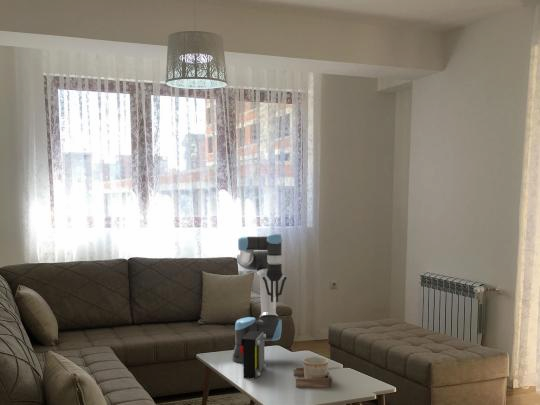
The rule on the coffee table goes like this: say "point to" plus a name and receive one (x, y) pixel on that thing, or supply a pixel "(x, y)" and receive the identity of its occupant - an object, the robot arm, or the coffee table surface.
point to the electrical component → (253, 353)
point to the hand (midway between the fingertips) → (274, 308)
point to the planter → (315, 367)
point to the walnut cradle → (311, 379)
